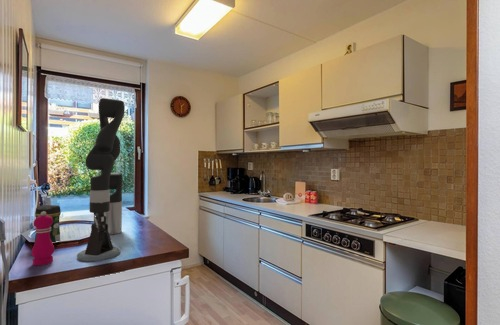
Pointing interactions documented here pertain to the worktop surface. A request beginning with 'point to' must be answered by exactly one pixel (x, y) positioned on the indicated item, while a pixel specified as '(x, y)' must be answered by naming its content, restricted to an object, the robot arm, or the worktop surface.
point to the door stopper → (94, 245)
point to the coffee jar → (55, 214)
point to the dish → (92, 258)
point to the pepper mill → (43, 240)
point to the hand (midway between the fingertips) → (99, 238)
